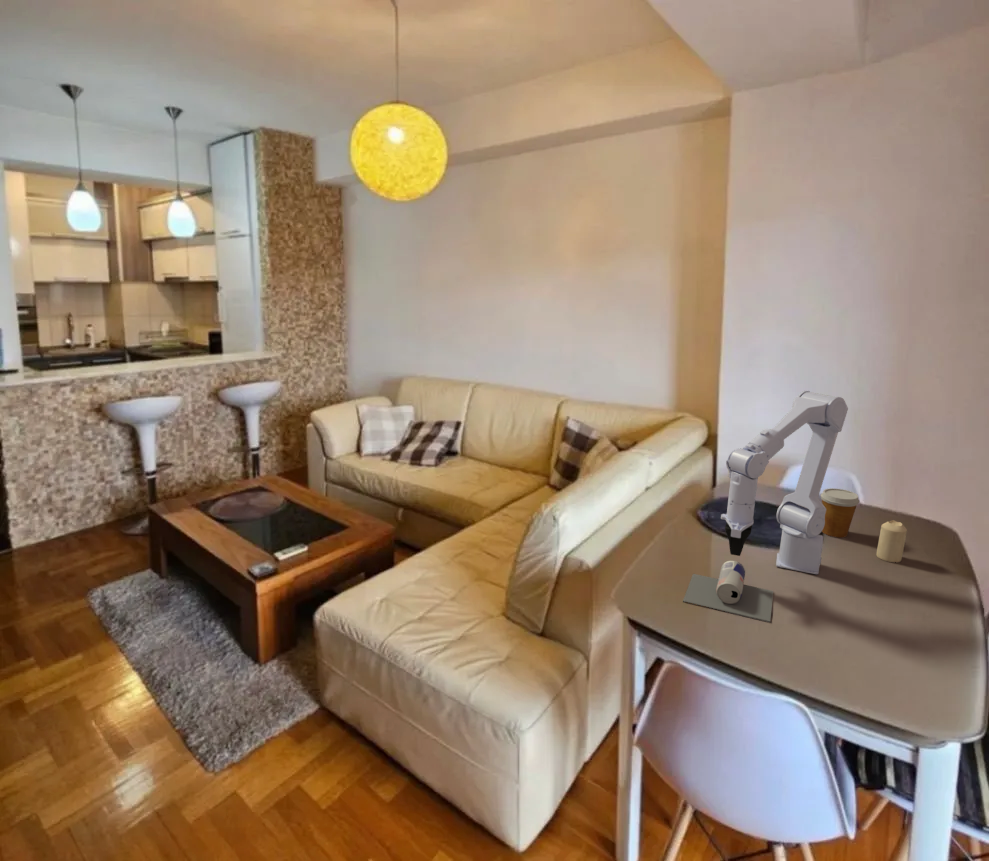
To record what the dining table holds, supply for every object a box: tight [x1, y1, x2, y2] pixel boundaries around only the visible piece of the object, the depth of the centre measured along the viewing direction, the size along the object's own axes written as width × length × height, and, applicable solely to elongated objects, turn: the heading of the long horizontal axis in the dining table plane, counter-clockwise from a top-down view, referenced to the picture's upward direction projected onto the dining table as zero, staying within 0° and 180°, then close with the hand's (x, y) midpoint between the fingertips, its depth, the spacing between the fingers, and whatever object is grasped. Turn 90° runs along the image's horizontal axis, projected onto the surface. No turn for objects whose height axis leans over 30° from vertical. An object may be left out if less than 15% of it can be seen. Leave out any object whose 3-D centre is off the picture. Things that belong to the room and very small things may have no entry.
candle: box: [876, 519, 908, 563], centre depth 153 cm, size 6×6×10 cm
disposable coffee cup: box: [820, 487, 860, 538], centre depth 167 cm, size 10×10×12 cm
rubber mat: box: [682, 573, 774, 623], centre depth 135 cm, size 18×14×1 cm
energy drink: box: [716, 560, 746, 604], centre depth 136 cm, size 5×5×12 cm
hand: (735, 554), depth 140 cm, fingers closed
